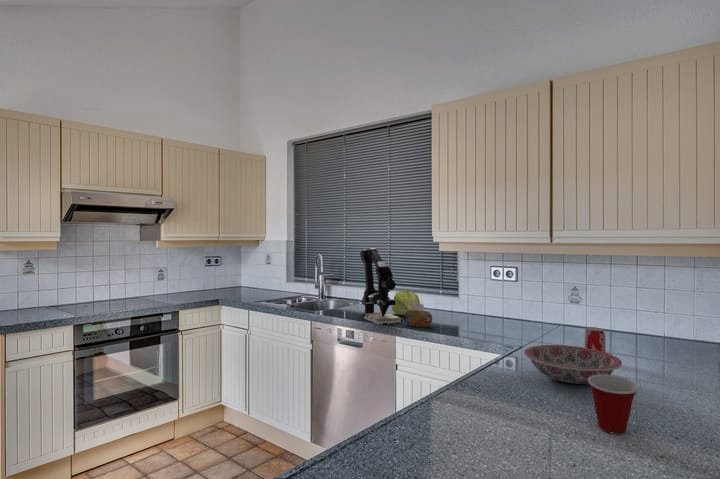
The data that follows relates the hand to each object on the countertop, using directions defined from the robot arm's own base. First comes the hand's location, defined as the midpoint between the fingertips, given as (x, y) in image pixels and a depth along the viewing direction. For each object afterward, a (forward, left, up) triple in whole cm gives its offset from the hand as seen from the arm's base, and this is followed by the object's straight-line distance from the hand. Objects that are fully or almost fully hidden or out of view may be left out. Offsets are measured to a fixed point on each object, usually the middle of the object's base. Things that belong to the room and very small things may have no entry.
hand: (383, 315), depth 243 cm
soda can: (+100, +41, -3) cm, 109 cm away
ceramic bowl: (+113, +13, -3) cm, 114 cm away
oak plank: (+1, 0, -2) cm, 2 cm away
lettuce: (-9, +20, -3) cm, 22 cm away
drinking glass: (+12, +15, -3) cm, 20 cm away
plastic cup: (+144, -9, -3) cm, 145 cm away
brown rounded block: (+19, +11, -3) cm, 23 cm away
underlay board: (-2, 0, -3) cm, 3 cm away
